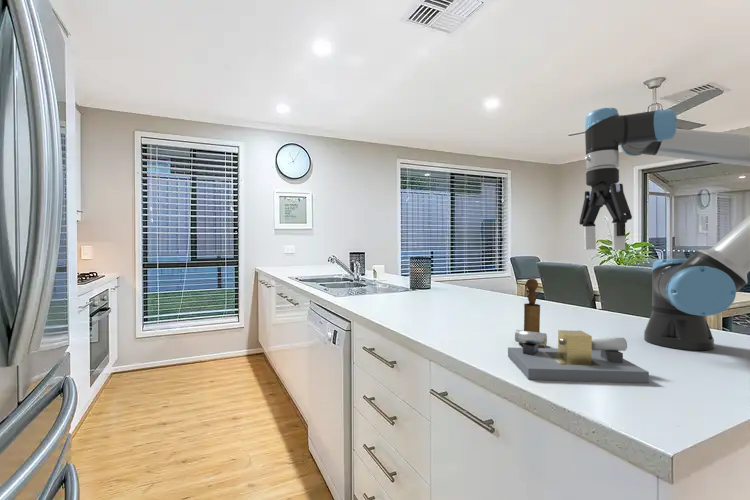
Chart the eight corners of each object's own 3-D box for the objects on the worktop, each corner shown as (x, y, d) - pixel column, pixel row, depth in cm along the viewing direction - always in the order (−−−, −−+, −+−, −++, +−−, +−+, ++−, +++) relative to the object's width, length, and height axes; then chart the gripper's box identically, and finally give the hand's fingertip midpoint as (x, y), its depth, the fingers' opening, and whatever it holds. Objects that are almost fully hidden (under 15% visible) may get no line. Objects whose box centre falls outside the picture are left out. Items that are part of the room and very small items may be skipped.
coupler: (583, 361, 87) (583, 330, 87) (593, 368, 82) (594, 336, 82) (555, 360, 88) (556, 330, 87) (564, 368, 83) (564, 335, 82)
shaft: (547, 352, 90) (547, 331, 89) (543, 356, 86) (543, 335, 86) (518, 347, 93) (518, 328, 93) (513, 352, 90) (513, 331, 90)
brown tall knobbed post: (547, 349, 100) (547, 280, 100) (520, 348, 101) (521, 279, 101) (541, 343, 107) (542, 278, 106) (516, 341, 108) (517, 277, 108)
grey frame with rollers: (606, 358, 92) (607, 329, 92) (648, 383, 76) (649, 347, 76) (507, 356, 94) (508, 327, 94) (528, 379, 78) (528, 344, 78)
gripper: (566, 178, 115) (567, 249, 115) (615, 159, 90) (617, 250, 90) (591, 177, 114) (592, 249, 115) (648, 158, 89) (650, 249, 90)
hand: (603, 249), depth 102 cm, fingers open, 13 cm apart
